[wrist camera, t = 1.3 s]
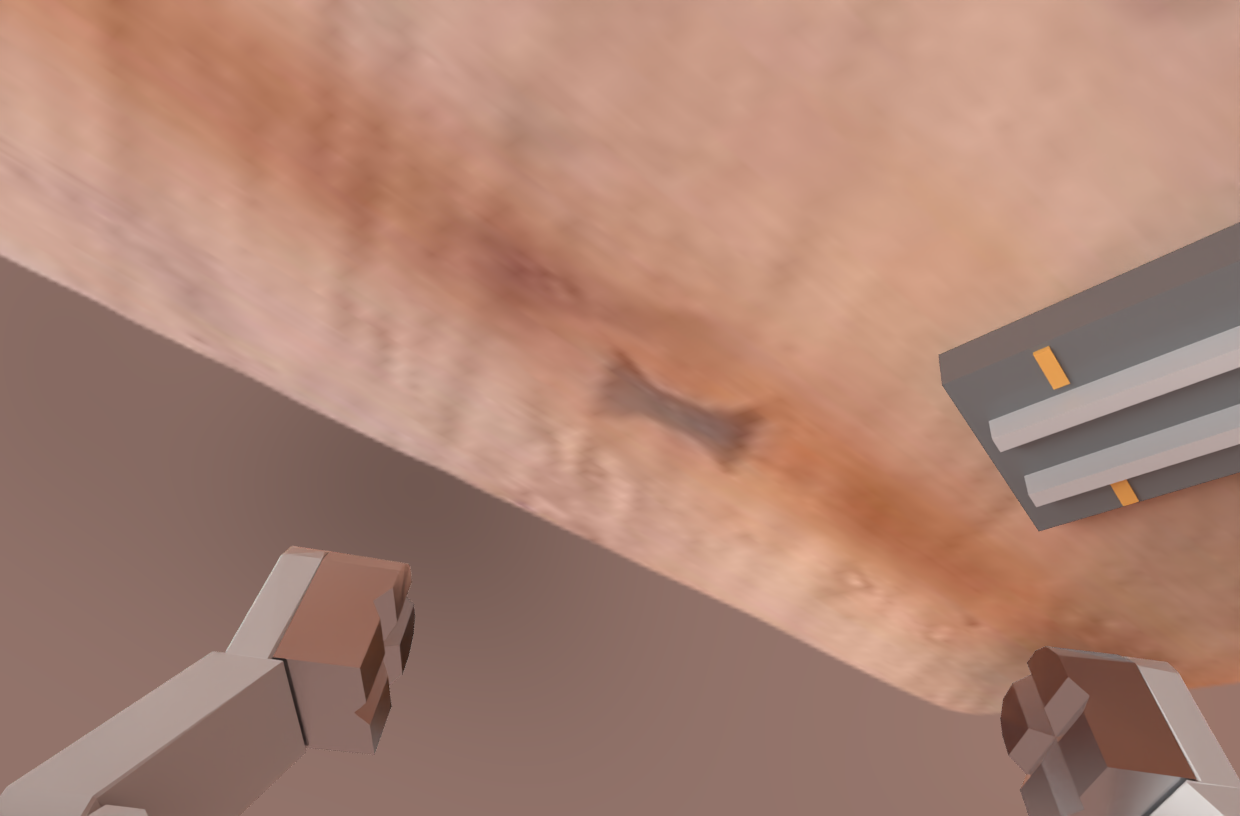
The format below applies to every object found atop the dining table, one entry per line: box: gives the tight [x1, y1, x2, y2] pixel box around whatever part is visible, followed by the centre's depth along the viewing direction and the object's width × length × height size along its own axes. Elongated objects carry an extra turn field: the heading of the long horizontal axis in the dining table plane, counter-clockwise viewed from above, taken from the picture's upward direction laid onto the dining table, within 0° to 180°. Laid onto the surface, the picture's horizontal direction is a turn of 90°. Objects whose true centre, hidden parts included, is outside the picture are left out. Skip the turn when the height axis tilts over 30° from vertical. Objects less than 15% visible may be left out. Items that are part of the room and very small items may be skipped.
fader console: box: [939, 223, 1240, 531], centre depth 39 cm, size 20×12×5 cm, turn 130°
